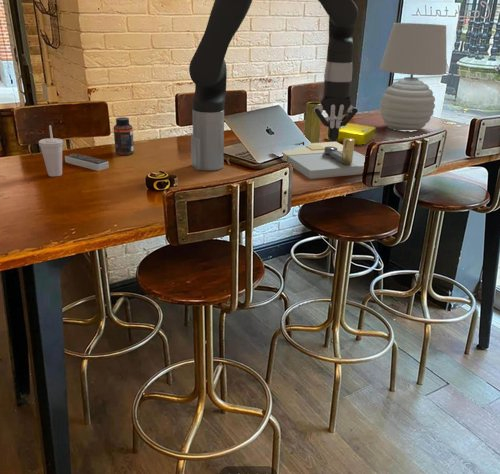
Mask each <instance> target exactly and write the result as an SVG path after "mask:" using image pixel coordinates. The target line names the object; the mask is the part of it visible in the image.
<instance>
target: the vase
mask: <svg viewBox="0 0 500 474" xmlns="http://www.w3.org/2000/svg"><path fill="white" fill-rule="evenodd" d="M320 104H321V102H319V101H309V102H306V106H305V109H306V110H305V120H304V126H303V127H304V129H303V136H304V135H305V137H306V138H307V139H308V140H309V141H310V142H311V143H320V134H321V130H320V129H321V121H320V119H319V118H318V116H317V115H316V113H315V112H314V110H313V108H314V107H317V106H319V105H320Z"/></svg>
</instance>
